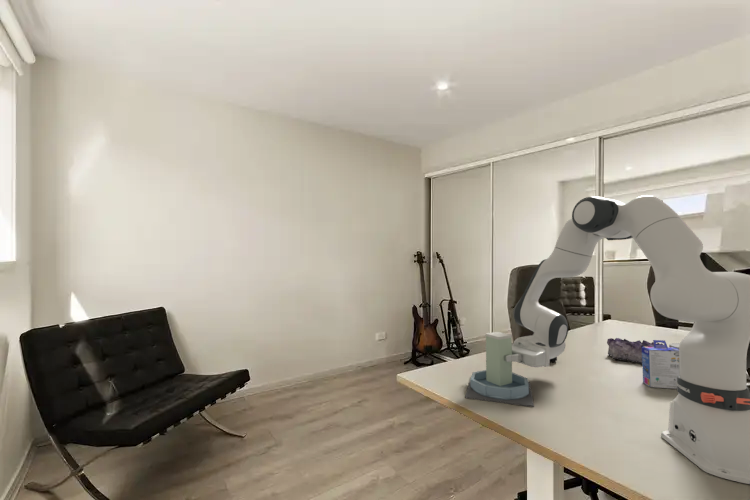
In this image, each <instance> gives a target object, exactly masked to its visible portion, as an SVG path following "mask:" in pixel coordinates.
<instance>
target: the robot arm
mask: <svg viewBox="0 0 750 500" xmlns="http://www.w3.org/2000/svg"><path fill="white" fill-rule="evenodd" d="M603 239H606V240H607V241H622V240H623V241H625V240H629V239H630V240H631V239H633V240H634V242H635V243H636V244H637V246H638V247H639V248H640V250H641V251H642V253H643V254H644V255H643V256H645V258H646V259H647V260H648V262H649V263H650V265H651V267H652V271H653V272H654V273H653V274H654V278H655V280H654V281H655V282H654V283H653V285H652V286H651V288H650V293H649V294H650V295H649V296H650V302H651V304H652V306H653V308H654V310H656V312H657V313H659V314H660V315H661V316H663V317H666V318H667V319H672V320H677V321H683V322H688V323H689V322H693V326H692V328H691V330H690V331H689V333H688V334H687V335H686V336H684V337H683V338H682V339H681V341H680V345H679V375H678V376H677V381H676V384H677V389H676V392H677V395H676V396H675V398H673V399H672V400H671V401H670V403H669V410H668V411H669V415H668V429H667V430H663V431H661V433H660V434H661V435H660V436H661V438H662V439H663V440H665V441H666V442H667V443H668V444H670V445H671V446H672V447H674V448H675V449H676V450H677V451H679V453H681V454H682V455H683V456H685V457H686V458H687V459H688V460H689V461H691V462H692V463H694V464H695V465H696V466H698V468H699V469H700V470H702V471H704V472H705V473H707V474H710V475H712V476H715V477H718V478H722V479H726V480H728V481H734V482H738V483H741V484H748V485H750V388H749V387H748V386H747V357H748V355H747V354H748V349H749V346H750V345H749V344H750V274H746V273H742V272H736V271H711V270H709V269H708V268H706V266H705V265H704V263H703V261H702V260H701V254H702V251H703V250H704V246H703V245H704V244H703V242H702V241H701V239H700V238H699V237H698V236H697V235H696V233H695V232H694V231H693V230H692V229H691V227H689V226H688V224H687V223H686V222H685V221H684V220H683V219H682V217H681V216H680V215H679V214H678V213H677V212H676V211H675V210H674V209H673V208H671V207H670V205H668V204H667V203H666V202H664V201H663V200H661V199H660V198H659V197H657V196H654V195H650V194H649V195H648V194H646V195H640V196H638V197H635V198H633V199H631V200H630V201H629V202H627V203H625V202H623V201H620V200H617V199H612V198H607V197H606V198H605V197H603V196H587V197H584V198H582V199H580V200H579V201H578V202H577V203H576V204H575V206H574V207H573V210H572V211H571V218H570V219H568V220H567V221H566V222H565V224H564V225H563V228H562V229H561V231H560V233H559V235H558V237H557V241H556V243H555V245H554V249H553V250H552V252H551V253H550V255H549V257H547V258H546V259H542V260H541V261H540V263H538V265H537V267H536V268H535V270H534V272H533V274H532V276H531V278H530V280H529V282H528V285H527V286H526V288H525V290H524V292H523V294H522V295H521V296H520V299H519V300H518V301H517V303H516V304H515V306H514V307H513V312H512V313H513V319H514V321H515V323H516V324H517V325H518V326H520V327H523V328H525V329H527V330H530V331H531V332H533V334H532V335H525V336H521V337H517V338H515V340H514V341H513V342H512V355H504V361H507V362H510V361H512V363H513V362H515V363H519V364H522V365H524V366H525V365H526V366H527V367H533V368H542V367H550V362H551V361H550V359H552V358H555V357H557V358H558V357H559V356H560V355H562V354H564V351H565V350H566V339H567V337H568V334H569V325H568V321H567V319H566V316H564V315H563V314H562V313H559V312H557V311H555V310H553V309H551V308H548V307H546V306H544V305H541V304H540V302H539V301H540V300H539V299H540V297H541V295H543V292H544V290H545V288H546V286H547V285H548V283H549V282H550V281H551V280H553V279H556V278H557V279H558V278H559V279H561V278H575V277H578V276H580V275H582V274H584V273H585V271H586V270H587V269H588V268H589V266H590V263H591V261H592V257H593V254H594V251H595V248H596V246H597V244H598V243H599V242H600V241H601V240H603Z"/></svg>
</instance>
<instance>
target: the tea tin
mask: <svg viewBox="0 0 750 500" xmlns="http://www.w3.org/2000/svg"><path fill="white" fill-rule="evenodd" d="M484 335H485V336H484V337H485V362H486V363H485V370H486V381H489V382H491V383H493V384H496V385H498V386H502V385H506V384H510V383H512V372H513V361H510V362H507V361H504V355H512V343H513V342H512V341H513V340H512V338H513V334H509V333H505V332H501V331H492V332H486V333H484Z"/></svg>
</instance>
